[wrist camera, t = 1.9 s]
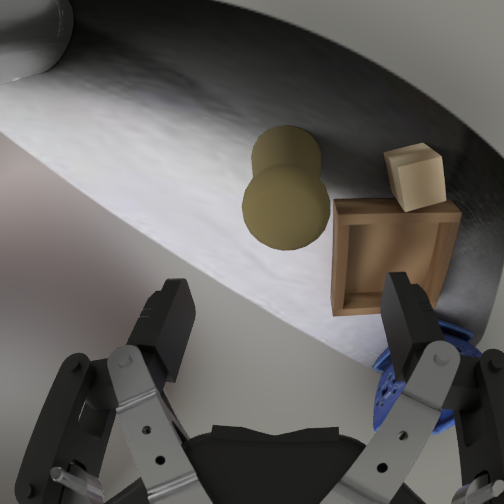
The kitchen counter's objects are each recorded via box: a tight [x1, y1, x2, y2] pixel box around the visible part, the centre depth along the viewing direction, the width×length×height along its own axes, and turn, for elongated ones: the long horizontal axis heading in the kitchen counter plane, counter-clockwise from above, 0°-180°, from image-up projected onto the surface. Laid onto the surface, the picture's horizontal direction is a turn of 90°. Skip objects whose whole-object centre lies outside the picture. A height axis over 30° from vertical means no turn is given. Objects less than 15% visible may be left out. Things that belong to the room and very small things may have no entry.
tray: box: [331, 198, 462, 316], centre depth 29 cm, size 12×12×3 cm
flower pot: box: [373, 319, 482, 435], centre depth 33 cm, size 13×13×12 cm
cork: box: [242, 125, 330, 251], centre depth 21 cm, size 6×6×11 cm
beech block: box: [383, 143, 446, 212], centre depth 23 cm, size 4×4×4 cm
